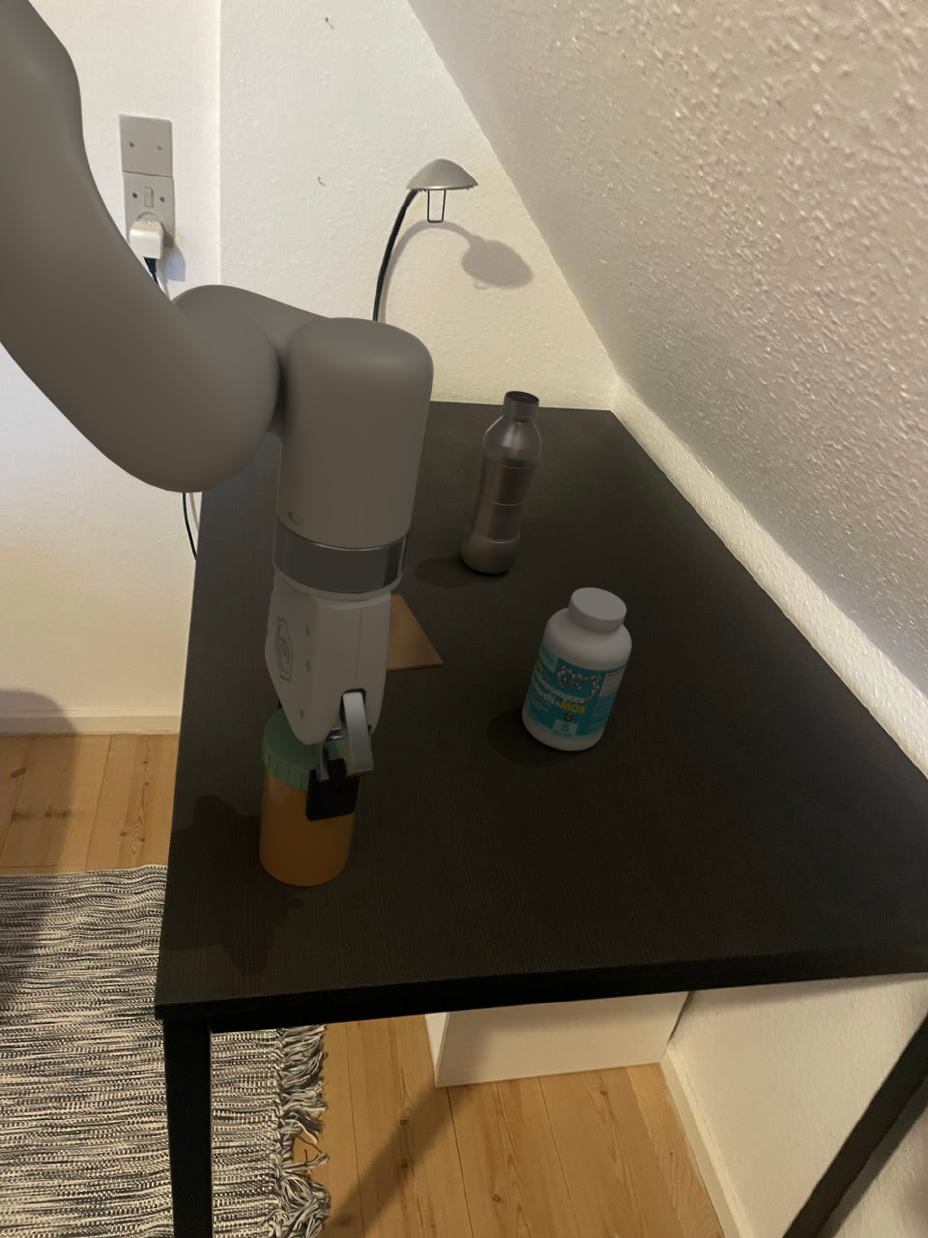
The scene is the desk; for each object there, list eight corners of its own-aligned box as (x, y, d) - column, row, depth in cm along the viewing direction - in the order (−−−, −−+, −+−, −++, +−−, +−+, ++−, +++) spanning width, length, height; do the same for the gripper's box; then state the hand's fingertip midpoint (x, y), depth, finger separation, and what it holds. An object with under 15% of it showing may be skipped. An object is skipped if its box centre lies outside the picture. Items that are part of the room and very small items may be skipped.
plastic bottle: (445, 561, 106) (477, 391, 95) (482, 545, 111) (517, 381, 100) (489, 587, 103) (527, 414, 92) (525, 569, 108) (566, 403, 97)
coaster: (319, 679, 84) (320, 675, 84) (286, 605, 93) (286, 602, 93) (442, 665, 89) (443, 662, 89) (400, 597, 98) (400, 593, 98)
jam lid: (264, 794, 59) (266, 772, 58) (258, 721, 64) (260, 700, 63) (375, 790, 61) (379, 768, 60) (360, 720, 66) (363, 699, 65)
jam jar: (260, 889, 64) (270, 774, 58) (256, 820, 69) (265, 708, 64) (354, 884, 66) (372, 771, 60) (343, 817, 71) (359, 707, 65)
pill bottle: (503, 721, 84) (536, 593, 77) (553, 691, 89) (588, 569, 82) (569, 767, 80) (610, 638, 73) (617, 733, 85) (659, 609, 78)
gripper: (241, 478, 59) (230, 701, 68) (319, 637, 46) (292, 884, 56) (356, 475, 62) (330, 689, 72) (458, 624, 49) (410, 860, 59)
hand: (313, 772), depth 63 cm, fingers closed on jam lid, 7 cm apart
